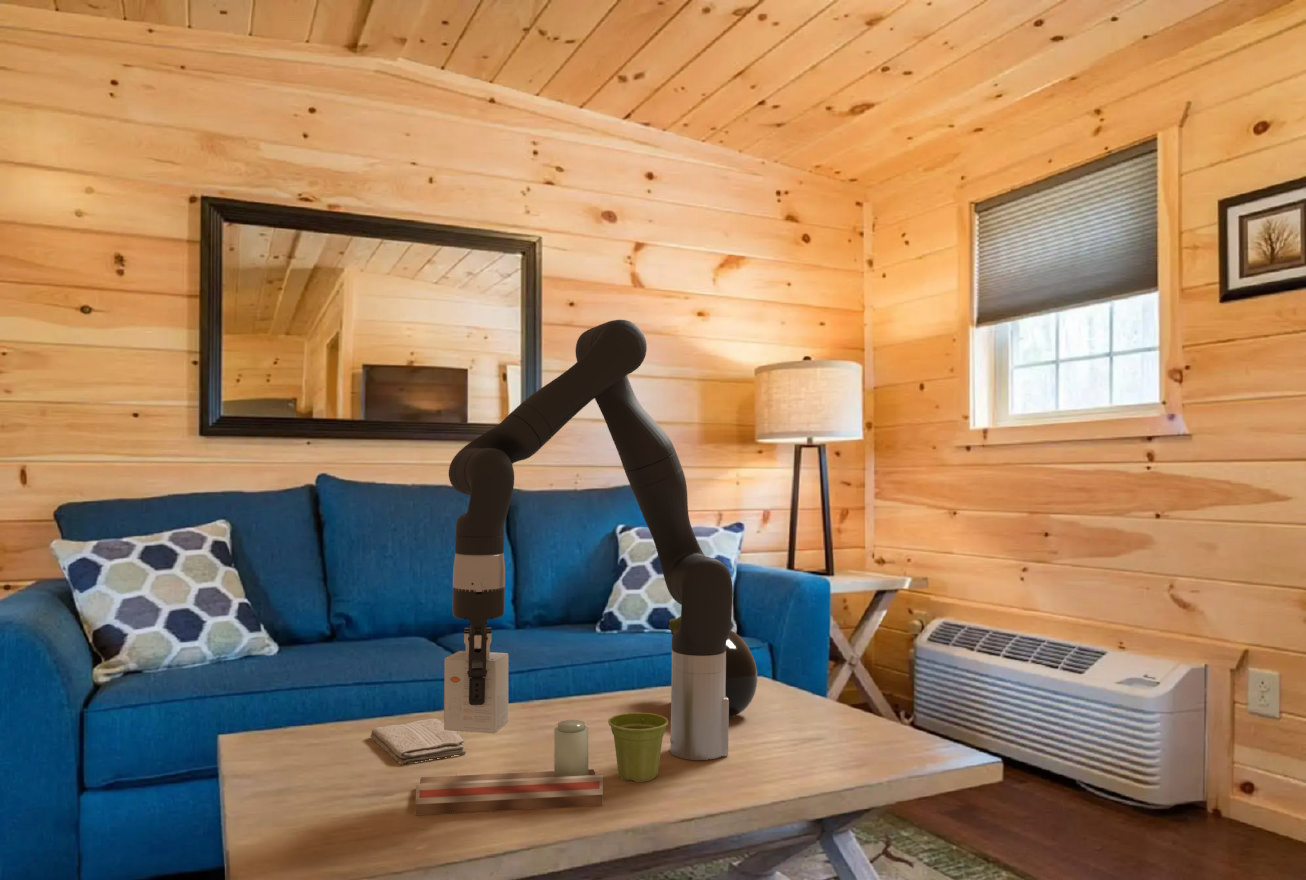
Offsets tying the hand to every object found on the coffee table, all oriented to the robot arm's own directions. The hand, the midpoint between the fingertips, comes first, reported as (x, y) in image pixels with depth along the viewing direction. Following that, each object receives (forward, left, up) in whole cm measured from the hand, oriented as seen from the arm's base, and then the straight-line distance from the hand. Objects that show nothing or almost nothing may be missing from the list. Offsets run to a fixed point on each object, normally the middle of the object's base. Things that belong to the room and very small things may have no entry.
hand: (476, 697), depth 136 cm
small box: (0, 0, -5) cm, 5 cm away
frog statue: (-45, -42, -15) cm, 64 cm away
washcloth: (+10, -26, -15) cm, 31 cm away
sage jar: (-14, +1, -13) cm, 19 cm away
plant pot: (-25, -5, -15) cm, 29 cm away
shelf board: (-5, +1, -14) cm, 15 cm away
